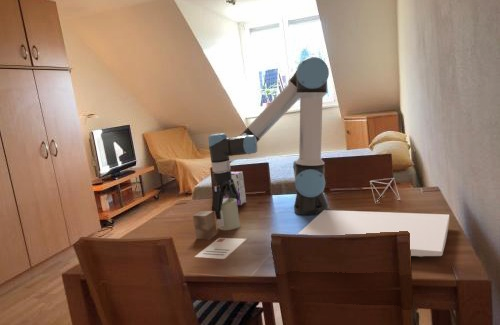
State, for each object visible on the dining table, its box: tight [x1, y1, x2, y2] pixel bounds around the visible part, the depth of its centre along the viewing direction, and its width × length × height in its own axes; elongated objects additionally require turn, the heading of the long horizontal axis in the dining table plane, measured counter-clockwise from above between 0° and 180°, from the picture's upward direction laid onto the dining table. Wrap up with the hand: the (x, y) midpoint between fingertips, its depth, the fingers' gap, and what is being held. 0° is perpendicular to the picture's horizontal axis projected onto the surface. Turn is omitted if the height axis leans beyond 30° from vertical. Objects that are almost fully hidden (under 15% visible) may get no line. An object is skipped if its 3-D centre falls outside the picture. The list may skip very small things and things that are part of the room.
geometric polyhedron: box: [369, 177, 401, 204], centre depth 173 cm, size 12×11×9 cm
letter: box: [194, 237, 247, 260], centre depth 141 cm, size 12×18×1 cm, turn 156°
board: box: [297, 209, 450, 258], centre depth 132 cm, size 45×32×5 cm
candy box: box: [215, 171, 247, 206], centre depth 201 cm, size 14×6×16 cm, turn 58°
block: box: [192, 210, 218, 241], centre depth 154 cm, size 6×6×10 cm
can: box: [218, 198, 241, 231], centre depth 163 cm, size 9×9×12 cm
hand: (228, 220), depth 164 cm, fingers open, 13 cm apart
